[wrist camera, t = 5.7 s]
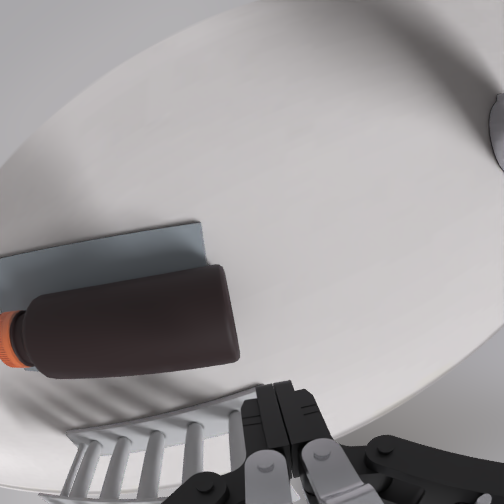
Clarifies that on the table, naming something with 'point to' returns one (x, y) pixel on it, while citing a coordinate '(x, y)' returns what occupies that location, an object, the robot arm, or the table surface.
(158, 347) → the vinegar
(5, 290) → the slate mat
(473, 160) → the table surface
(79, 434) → the test tube rack
